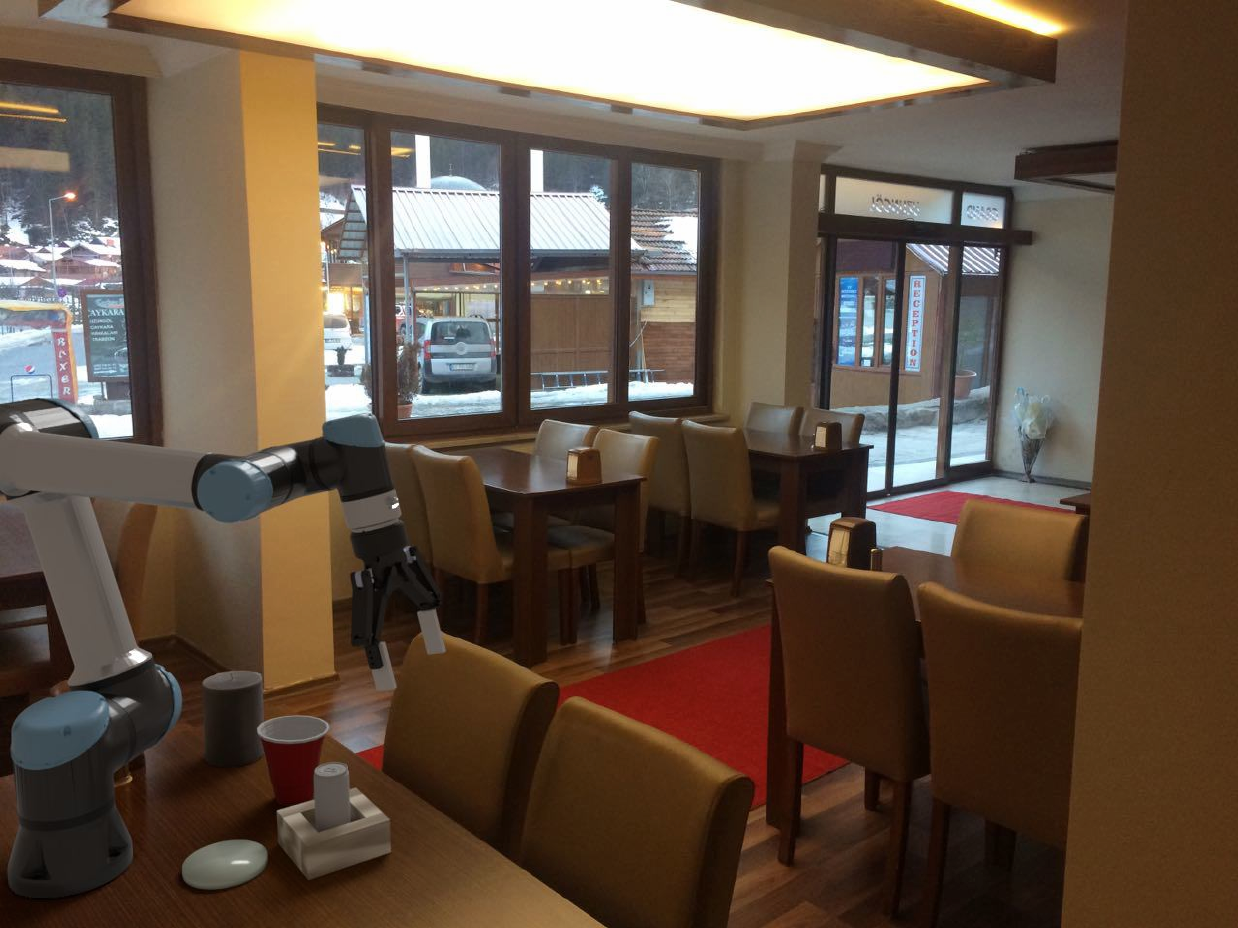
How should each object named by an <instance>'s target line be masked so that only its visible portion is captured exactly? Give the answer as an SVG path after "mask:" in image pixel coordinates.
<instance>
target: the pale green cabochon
mask: <svg viewBox="0 0 1238 928" xmlns="http://www.w3.org/2000/svg"><path fill="white" fill-rule="evenodd" d="M267 864H268V850H267V848H266V847H265V846H264V845H263V844H262V843H259V842H257V841H253V840H249V839H228V840H221V841H217V842H214V843H211V844H208V845H206V846H204V847H201V848H199V849H197V850H195V851H193V852H192V853H190V855H188V856H187V858H185V860H184V861H183V863H182V866H181V874H182V879H183V882H185V883H186V884H187V885H188V886H189V887H192V888H196V889H200V890H222V889H229V888H233V887H235V886H236V887H237V886H238V885H242V884H245V883H247V882H249V881H251V880H252V879H255V878H256V877H257V876H258V875H260V874H261V873H262V872H264V870H265V869H266V867H267V866H268V865H267Z"/></svg>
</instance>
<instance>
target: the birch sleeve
mask: <svg viewBox="0 0 1238 928" xmlns="http://www.w3.org/2000/svg"><path fill="white" fill-rule="evenodd" d="M349 790H350V818H351V823H347V824H344V825H341V826H338V827H335V828H331V829H328V830H325V831H322V832H319V833H318V832H317V831H316V822H315V799H311V800H310V801H308V802H305V803H301V804H298V805H294V806H286V807H285V808H280V809H278V810H276V821H277V825H276V827H277V844H278V845H279V846H280V847H281V848H282V849H283V851H284V852H285V853H286V855H287V856H288V857H289V858H290V859H291V861H292V862H293V863H294V864H295V866H296V867H297V868H298V870H299V871H301V873H302V875H304V877H305V878H306V879H307V881H310V880H314V879H316V878H319V877H323V876H325V875H328V874H331V873H334V872H337V871H339V870H343V869H346V868H349V867H351V866H354V865H355V866H356V865H358V864H361V863H363V862H366V861H369V860H373V859H375V858H378V857H381V856H385V855H386V854H387V855H388V854H389V853H392V850H391V849H392V846H391V845H392V842H391V819H390V818H389V817H388V816H387V815H385V813H384V812H383V811H382V810H381V809H379V807H377V805H375V803H373V802H372V801H371V800H370V799H369V798H368V797H367V796H366V795H365V794H364V793H363V792H361V791H360V789H358V788H357V787H353V788H349Z"/></svg>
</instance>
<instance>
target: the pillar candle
mask: <svg viewBox="0 0 1238 928" xmlns="http://www.w3.org/2000/svg"><path fill="white" fill-rule="evenodd" d="M201 684H202V711H203V735H204V736H203V737H204V738H203V740H204V744H203V745H204V759H205V762H206V764H208V765H210V766H212V767H218V768H238V767H242V766H245V765H246V766H247V765H249V764H252V763H254V762H253V761H255V760H256V761H258V760H257V759H259V758H260V757H261V756H262V755H263V754H264V755H265V753H264V749H263V745H262V741H261V738H260V737H259V736H258V731H257V728H258V727H259V726H260V724H261V723H263V722H265V720H264V717H265V716H264V715H265V714H264V690H263V689H264V688H263V677H262V674H261V673H259V672H257V671H250V670H236V671H235V670H231V671H224V672H217V673H216V674H214V675H210V676H208V677H207V678H205V679H204V680H203V681H202V683H201ZM264 755H263V756H264ZM263 756H262V757H263ZM262 757H261V758H262ZM261 758H260V759H261ZM260 759H259V760H260ZM256 761H255V762H256ZM251 762H252V763H251Z"/></svg>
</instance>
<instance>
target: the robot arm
mask: <svg viewBox="0 0 1238 928" xmlns="http://www.w3.org/2000/svg"><path fill="white" fill-rule="evenodd" d="M321 429H322V433H321V436H319V437H315V438H312V439H308V440H302V441H298V442H297V441H296V442H292V443H288V444H282V445H275V446H270V447H266V448H263V449H261V450H257V451H254V452H251V454H247V455H244V456H243V455H231V454H224V453H223V454H222V453H213V452H207V451H200V450H199V451H198V450H189V449H182V448H173V447H167V446H166V447H164V446H156V445H149V444H148V445H146V444H139V443H131V442H124V441H123V442H122V441H121V442H120V441H115V440H114V441H113V440H105V439H100V435H99V431H98V429H97V426H96V425H95V423H94V420H93V419H92V418H91V417H90V415H89V414H88V413H87V412H86V411H85V410H84V409H82V407H80V406H78V405H76V404H74V403H72V402H71V401H69V400H65V399H62V398H55V397H51V398H48V397H47V398H46V397H35V398H28V399H23V400H17V401H16V400H15V401H10V402H4V403H0V495H2V496H5V500H6V503H7V504H9V505H11V506H14V507H15V508H16V509H17V508H18V509H19V510H20V511H22V513H23V515H24V517H25V521H26V524H27V526H28V530H29V532H30V533H29V534H30V536H31V539H32V542H33V544H34V548H35V551H36V554H37V557H38V560H39V564H40V565H41V569H42V572H43V575H44V577H45V582H46V585H47V588H48V591H49V593H50V596H51V599H52V602H53V605H54V607H55V610H56V614H57V617H58V620H59V623H60V626H61V629H62V633H63V635H64V638H65V641H66V645H67V648H68V651H69V653H70V656H71V660H72V662H73V665H74V669H73V672H72V673H71V675H70V677H69V679H68V681H67V686H68V689H69V691H67V692H61V693H58V694H56V696H54V697H53V696H52V697H50V696H47V697H45V698H43V699H40V700H39V701H36V702H34V703H32V704H31V705H30V706H28V707H27V708H25V709H24V710H23V711H22V712H20V713H19V714H18V716H17V717H16V719H15V720H14V721H13V724H12V727H11V744H10V757H11V758H12V767H13V768H12V769H13V778H14V788H15V798H16V806H17V807H16V808H17V816H18V817H17V818H18V828H17V832H16V835H15V840H14V843H13V846H12V850H11V854H10V858H9V860H8V863H7V880H8V882H7V883H8V887H9V886H10V887H9V889H10V888H11V889H12V890H11V889H10V890H11V891H12V892H13V891H14V892H15V894H16V895H18V894H19V895H18V896H20V895H22V896H21V897H23V896H25V897H24V898H27V897H29V898H28V899H33V898H53V899H59V898H58V897H61V898H66V897H65V896H67V897H71V896H70V895H72V896H75V894H76V895H78V894H82V893H85V892H86V893H87V892H88V891H91V890H95V889H97V888H98V887H100V886H103V885H105V884H107V883H109V882H110V881H112V880H114V879H116V878H117V877H118V876H120V875H121V874H122V873H124V872H125V870H127V869H128V867H129V866H130V865H131V864H132V861H133V858H134V851H133V850H134V849H133V840H132V837H131V834H130V833H129V830H128V827H126V824H125V821H124V820H123V819H122V816H121V814H120V812H119V810H118V808H117V807H116V798H115V797H116V795H115V781H114V780H115V779H114V773H116V772H117V771H119V769H121V768H123V767H124V766H126V765H127V764H128V763H130V762H131V761H133V760H134V759H135V758H137V757H138V756H140V755H141V754H143V753H144V752H145V751H146V750H149V749H151V748H153V747H154V746H156V745H157V744H159V743H160V742H161V741H162V740H163V739H164V737H165V736H166V735H168V733H170V732H171V731H172V730H173V729H174V727H175V726H176V724H177V723H178V720H179V718H180V715H181V712H182V708H183V696H182V690H181V688H180V685H179V682H178V680H177V679H176V678H175V676H174V675H173V674H172V672H168V671H166V668H165V667H164V666H162V665H160V664H156V663H155V659H154V657H153V655H152V653H151V652H149V651H147V650H145V649H143V648H141V647H139V645H137V641H136V639H135V635H134V632H133V629H132V625H131V623H130V620H129V616H128V613H127V609H126V607H125V603H124V600H123V598H122V596H121V595H122V594H121V591H120V589H119V586H118V582H117V579H116V576H115V573H114V570H113V568H112V567H113V566H112V564H111V560H110V558H109V555H108V551H107V548H106V545H105V542H104V539H103V535H102V533H101V530H100V527H99V523H98V520H97V517H96V514H95V510H94V508H93V505H92V501H91V498H93V499H101V500H109V501H115V502H116V501H118V502H124V503H125V502H126V503H133V504H142V505H149V506H150V505H151V506H156V507H157V506H158V507H166V508H174V509H183V510H189V511H198V512H205V514H207V515H208V516H209V517H211V518H212V519H214V520H215V521H217V522H221V523H226V524H227V523H228V524H231V523H237V522H243V521H244V522H245V521H249V520H252V519H254V518H256V517H257V516H259V515H261V514H263V513H265V512H267V511H270V510H272V509H274V508H277V507H279V506H282V505H285V504H287V503H290V502H292V501H294V500H296V499H300V498H302V497H303V498H304V497H307V496H312V495H317V494H321V493H325V492H330V491H334V490H336V491H337V493H338V495H339V500H340V504H341V509H342V512H343V517H344V520H345V524H346V528H347V529H349V530H351V531H352V532H351V533H350V535H349V539H350V543H351V546H352V549H353V550H352V551H353V554H354V556H355V558H356V559H359V560H362V562H363V570H358V571H352V572H351V573H350V576H349V578H350V582H351V588H352V589H351V590H352V595H351V596H352V598H351V602H352V603H351V630H350V644H351V646H352V647H357V648H361V647H362V648H363V649H364V652H365V656H366V659H367V663H368V667H369V668H370V670H371V673H372V677H373V681H374V686H375V689H376V692H384V691H392V690H393V691H394V690H395V689H397V687H398V686H397V683H396V679H395V676H394V671H393V667H392V664H391V660H390V659H391V658H390V654H389V652H388V648H387V643H386V641H381V639H382V632H383V628H384V621H385V615H386V610H387V604H388V599H389V598H390V597H391V596H392V592H394V591H396V590H397V589H398V588H400V590H401V591H402V592H403V593H404V594H405V595H406V596H407V597H408V598H409V599H410V600H411V601H412V602H413V603H414V604H415V605H416V606H417V607H418V608H419V609H421V610H419V611H417V618H418V623H419V626H420V630H421V633H422V637H423V641H424V645H425V646H424V647H425V650H426V653H427V655H435V654H444V653H445V652H447V650H446V645H445V642H444V639H443V634H442V630H441V626H440V625H441V624H440V620H439V616H438V611H437V608H441V607H442V606H443V603H442V602H443V601H442V598H443V593H442V591H441V590H440V588H439V586H438V585H437V582H436V581H435V579H434V578H433V576H432V574H431V572H430V571H429V570H428V567H427V566H426V564H425V563H424V561H423V560H422V557H421V554H420V552H419V548H418V546H417V545H416V544H415V545H409V542H410V541H409V537H408V533H407V529H406V524H405V522H404V521H403V520H402V519H399V518H400V517H401V516H402V510H401V507H400V501H399V498H398V494H397V492H396V486H395V483H394V480H393V474H392V469H391V466H390V461H389V457H388V453H387V449H386V441H385V439H384V437H383V434H382V432H381V427H380V425H379V422H378V419H377V417H376V416H375V414H373V413H371V412H362V413H358V414H357V413H356V414H352V415H348V416H344V417H340V418H335V419H331V420H327V421H324V422H323V423H322V426H321ZM408 545H409V546H408ZM14 892H13V893H14Z"/></svg>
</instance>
